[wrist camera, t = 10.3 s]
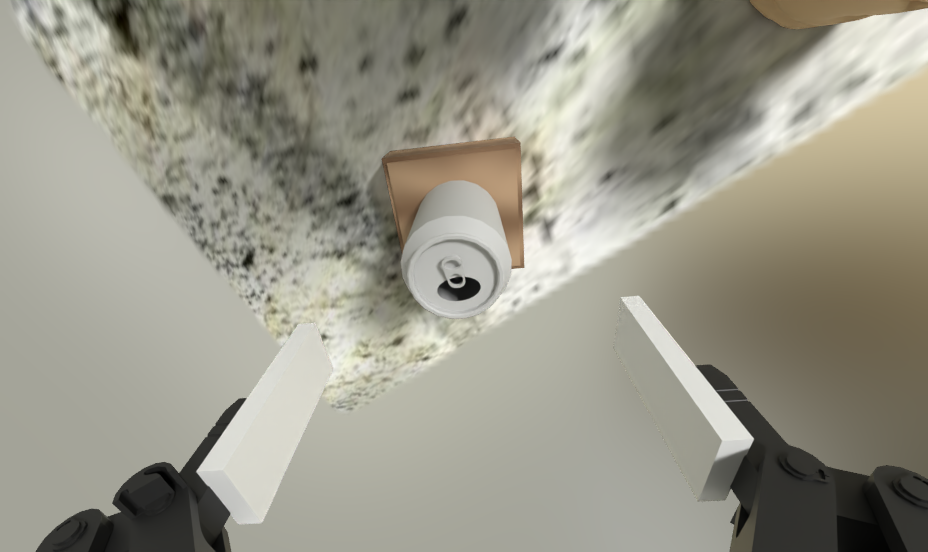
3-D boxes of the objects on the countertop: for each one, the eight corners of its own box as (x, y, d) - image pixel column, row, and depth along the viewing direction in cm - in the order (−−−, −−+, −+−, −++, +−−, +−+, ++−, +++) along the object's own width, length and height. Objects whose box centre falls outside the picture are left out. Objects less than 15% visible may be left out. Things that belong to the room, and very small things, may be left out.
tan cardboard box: (390, 151, 34) (381, 159, 30) (514, 136, 33) (520, 143, 29) (412, 261, 39) (407, 280, 36) (518, 251, 39) (524, 268, 35)
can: (428, 260, 35) (413, 336, 24) (409, 186, 31) (381, 236, 21) (503, 247, 34) (521, 320, 23) (492, 170, 30) (507, 214, 20)
